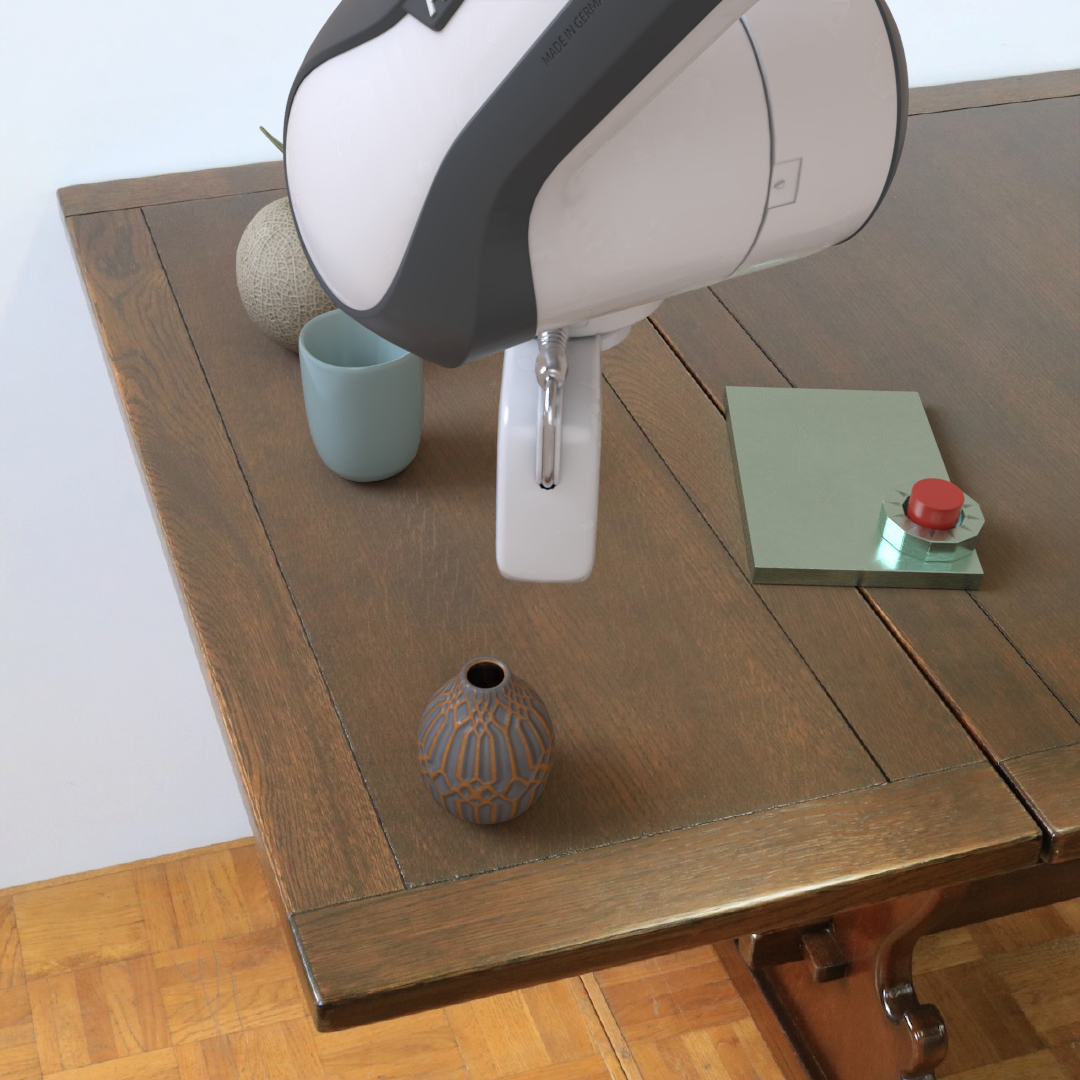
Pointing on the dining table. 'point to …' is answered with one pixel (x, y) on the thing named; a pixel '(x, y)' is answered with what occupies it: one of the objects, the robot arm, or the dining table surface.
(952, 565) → the green metallic slab
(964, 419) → the dining table surface
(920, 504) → the button
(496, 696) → the vase
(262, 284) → the fruit
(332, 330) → the cup
